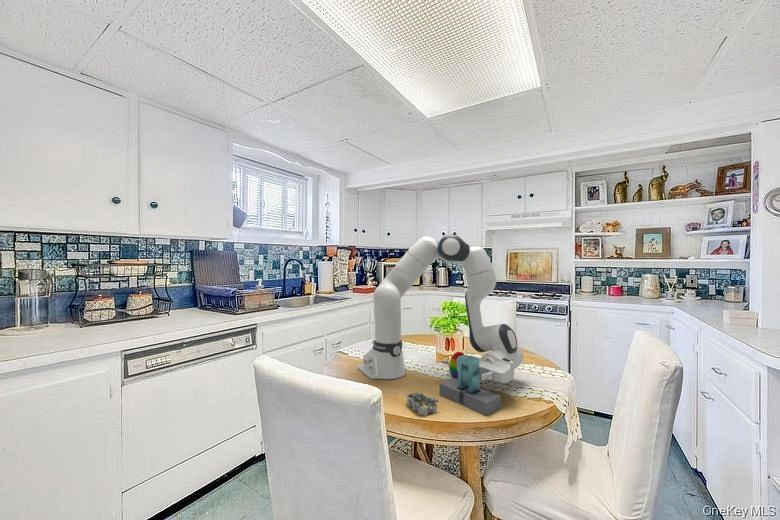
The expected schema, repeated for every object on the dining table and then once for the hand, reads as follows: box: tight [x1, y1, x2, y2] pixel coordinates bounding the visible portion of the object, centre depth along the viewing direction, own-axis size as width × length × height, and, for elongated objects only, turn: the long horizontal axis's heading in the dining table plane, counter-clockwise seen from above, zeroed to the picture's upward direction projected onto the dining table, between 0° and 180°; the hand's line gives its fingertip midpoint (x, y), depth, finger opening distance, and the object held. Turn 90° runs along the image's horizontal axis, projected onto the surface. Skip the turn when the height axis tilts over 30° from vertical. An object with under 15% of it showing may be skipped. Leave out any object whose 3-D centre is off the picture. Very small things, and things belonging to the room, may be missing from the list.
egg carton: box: [405, 391, 439, 416], centre depth 109 cm, size 11×8×4 cm
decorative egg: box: [448, 351, 465, 379], centre depth 136 cm, size 8×8×10 cm
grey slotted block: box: [438, 377, 502, 416], centre depth 113 cm, size 20×8×4 cm, turn 38°
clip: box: [457, 354, 480, 395], centre depth 113 cm, size 6×4×15 cm, turn 38°
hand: (469, 373), depth 113 cm, fingers open, 8 cm apart
